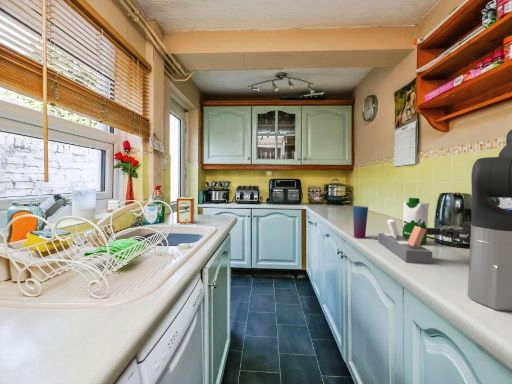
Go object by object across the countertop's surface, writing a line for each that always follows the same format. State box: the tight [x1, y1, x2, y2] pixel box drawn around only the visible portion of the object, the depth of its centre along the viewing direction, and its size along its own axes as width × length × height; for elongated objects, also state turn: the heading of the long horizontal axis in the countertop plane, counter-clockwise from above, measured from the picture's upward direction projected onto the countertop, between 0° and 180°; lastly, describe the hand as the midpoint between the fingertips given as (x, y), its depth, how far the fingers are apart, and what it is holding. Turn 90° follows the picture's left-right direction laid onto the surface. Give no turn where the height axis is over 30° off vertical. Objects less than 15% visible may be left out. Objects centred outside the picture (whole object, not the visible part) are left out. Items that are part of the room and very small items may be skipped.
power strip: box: [377, 232, 433, 265], centre depth 101 cm, size 35×8×4 cm, turn 172°
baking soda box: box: [176, 196, 195, 224], centre depth 157 cm, size 10×6×16 cm
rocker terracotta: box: [407, 226, 426, 248], centre depth 88 cm, size 4×2×7 cm, turn 172°
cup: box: [352, 205, 369, 239], centre depth 121 cm, size 7×7×15 cm
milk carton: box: [402, 197, 430, 246], centre depth 111 cm, size 9×9×20 cm
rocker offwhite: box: [386, 219, 401, 239], centre depth 102 cm, size 4×2×7 cm, turn 172°
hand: (426, 231), depth 88 cm, fingers closed
